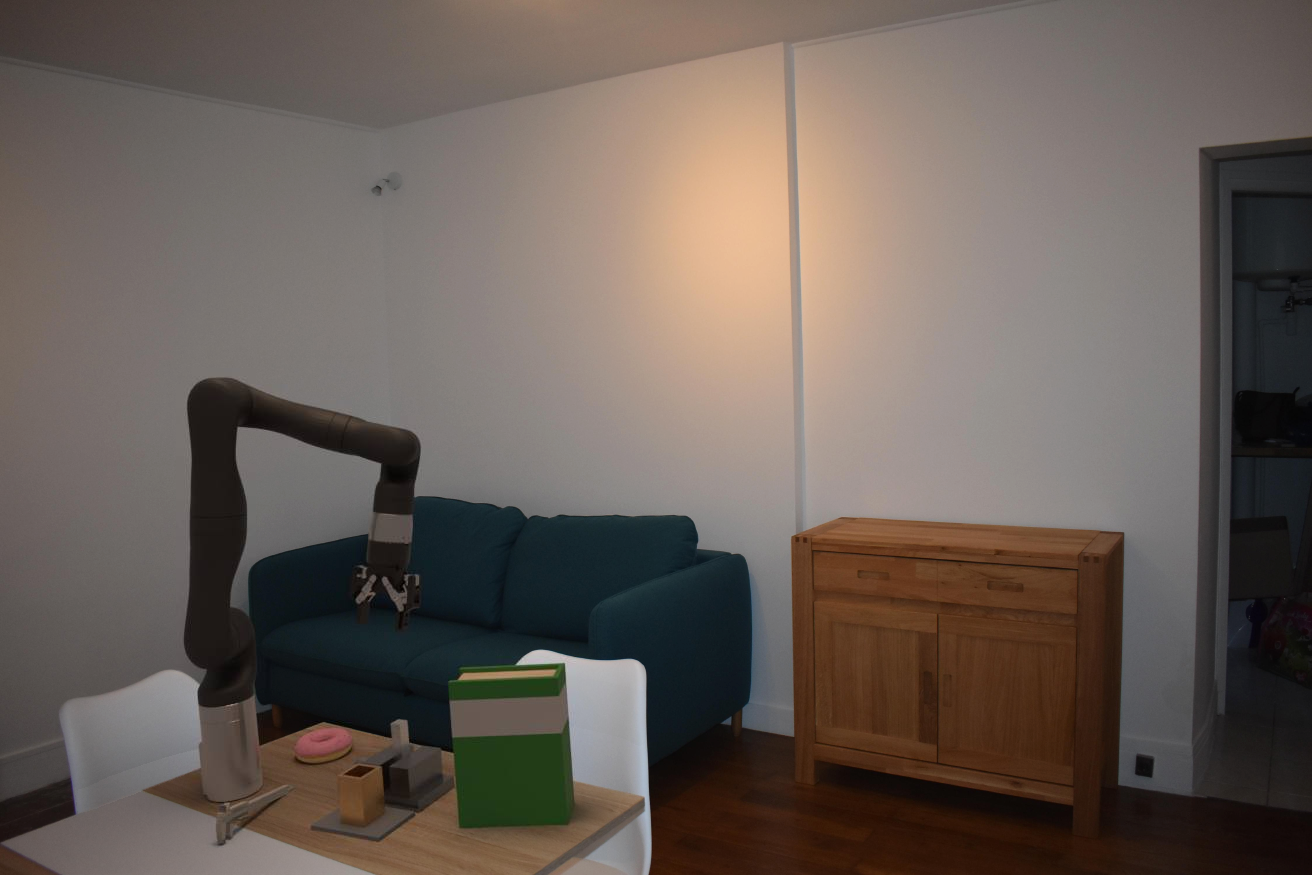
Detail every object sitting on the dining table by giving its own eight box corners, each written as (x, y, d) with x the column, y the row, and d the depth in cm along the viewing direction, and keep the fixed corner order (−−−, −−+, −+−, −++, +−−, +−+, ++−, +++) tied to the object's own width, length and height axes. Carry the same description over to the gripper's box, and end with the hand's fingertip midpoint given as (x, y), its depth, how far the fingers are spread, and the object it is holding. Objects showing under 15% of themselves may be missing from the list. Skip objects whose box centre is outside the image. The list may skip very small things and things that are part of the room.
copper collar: (340, 822, 148) (336, 775, 148) (362, 809, 153) (358, 763, 153) (364, 827, 146) (360, 779, 146) (385, 813, 151) (381, 766, 150)
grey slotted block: (340, 799, 159) (334, 726, 158) (379, 774, 168) (373, 706, 167) (419, 812, 152) (412, 736, 151) (454, 786, 161) (449, 715, 160)
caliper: (223, 846, 145) (220, 808, 144) (217, 846, 145) (213, 808, 144) (294, 788, 165) (291, 755, 164) (288, 788, 165) (285, 755, 165)
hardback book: (459, 828, 146) (448, 682, 144) (471, 806, 153) (460, 667, 151) (567, 824, 145) (557, 677, 143) (574, 802, 152) (564, 662, 150)
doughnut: (320, 770, 172) (318, 748, 172) (282, 760, 178) (281, 740, 178) (365, 748, 182) (363, 728, 181) (328, 740, 187) (326, 720, 187)
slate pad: (311, 828, 148) (310, 825, 148) (349, 803, 157) (349, 800, 157) (378, 841, 143) (378, 837, 143) (415, 814, 151) (414, 811, 151)
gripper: (344, 534, 163) (335, 624, 162) (408, 543, 157) (399, 636, 157) (372, 532, 170) (364, 619, 169) (435, 541, 164) (426, 631, 164)
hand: (381, 627), depth 163 cm, fingers open, 8 cm apart
